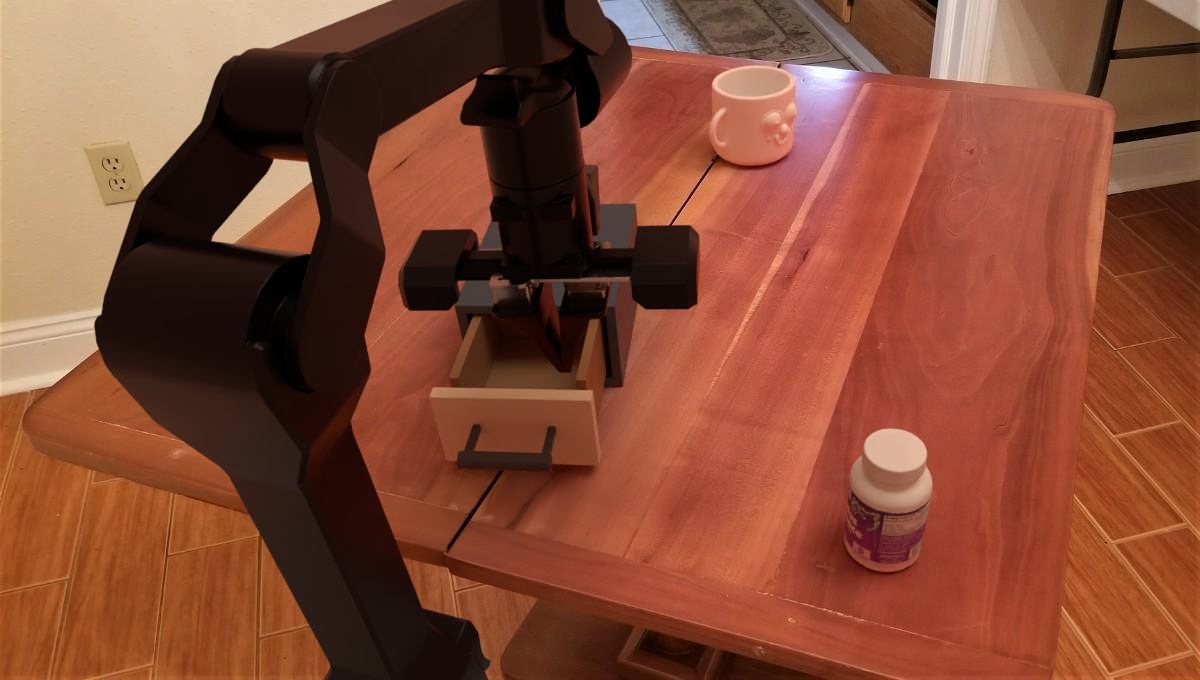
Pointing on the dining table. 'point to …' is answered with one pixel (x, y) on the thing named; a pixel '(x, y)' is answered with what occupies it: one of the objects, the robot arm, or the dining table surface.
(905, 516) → the pill bottle
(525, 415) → the drawer
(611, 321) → the cabinet
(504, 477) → the dining table surface
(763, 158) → the mug
